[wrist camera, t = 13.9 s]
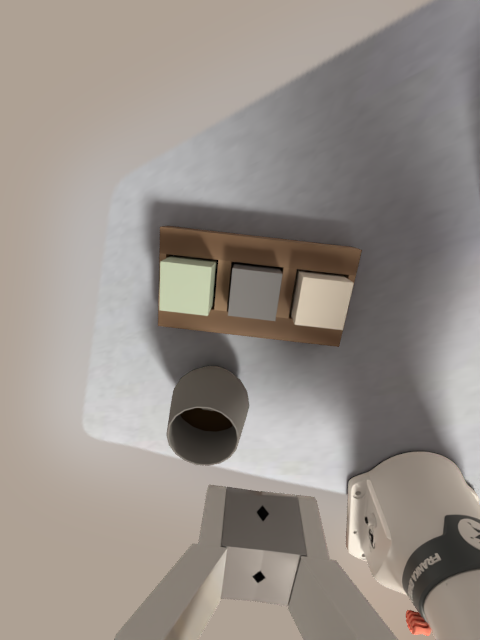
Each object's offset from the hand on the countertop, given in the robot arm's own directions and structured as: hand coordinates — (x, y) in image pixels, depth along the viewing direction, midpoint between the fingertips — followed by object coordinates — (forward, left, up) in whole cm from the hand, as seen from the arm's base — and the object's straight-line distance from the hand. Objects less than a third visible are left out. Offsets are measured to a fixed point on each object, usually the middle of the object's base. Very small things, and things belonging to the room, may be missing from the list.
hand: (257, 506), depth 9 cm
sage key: (0, +7, -27) cm, 28 cm away
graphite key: (0, 0, -28) cm, 28 cm away
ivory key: (0, -7, -28) cm, 29 cm away
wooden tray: (0, 0, -29) cm, 29 cm away
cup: (-14, +4, -29) cm, 33 cm away
